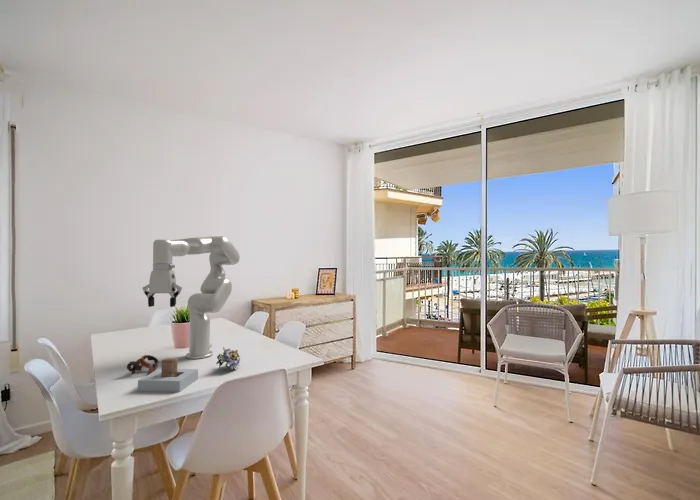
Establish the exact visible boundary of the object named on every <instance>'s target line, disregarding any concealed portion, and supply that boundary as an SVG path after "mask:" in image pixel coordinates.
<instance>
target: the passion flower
mask: <svg viewBox="0 0 700 500" xmlns="http://www.w3.org/2000/svg"><path fill="white" fill-rule="evenodd" d="M222 349H223V352H222V353H218V355H217V356H216V357H217V362H216V363H215V364H216V365H218V364H219V365H218V367H219V368H218V369H219V370H220V369H221V366H222V365H223V364H224V363H225V367H226V368H228V369H229V370H231V371H238V366H241V362H240V361H241V356H240V353H239V351H238V349H231V347H230V348H226V347H224V346H223V347H222Z"/></svg>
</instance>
